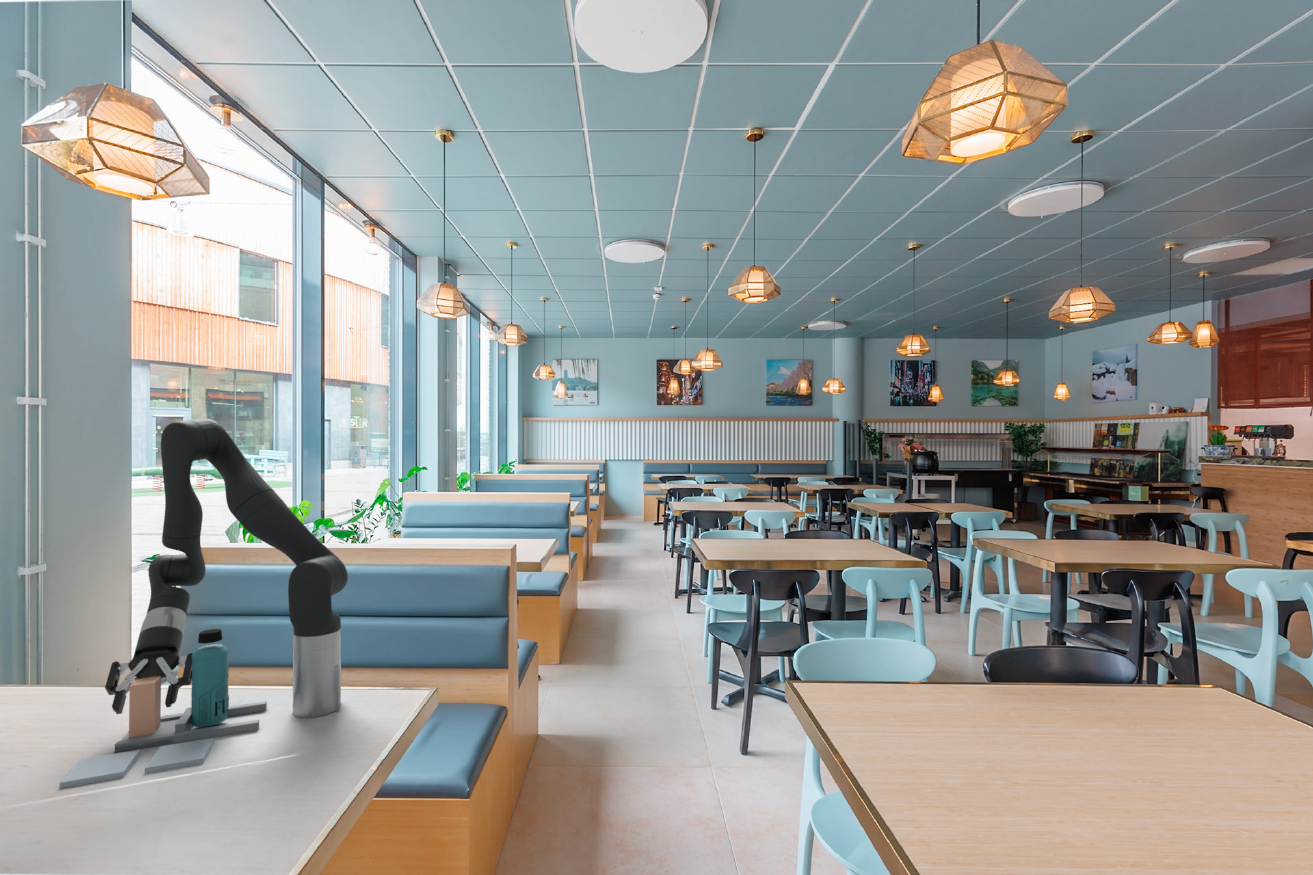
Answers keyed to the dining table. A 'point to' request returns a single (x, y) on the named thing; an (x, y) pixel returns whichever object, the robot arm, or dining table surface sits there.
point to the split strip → (122, 762)
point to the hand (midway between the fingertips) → (143, 708)
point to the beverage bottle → (209, 681)
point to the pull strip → (172, 720)
